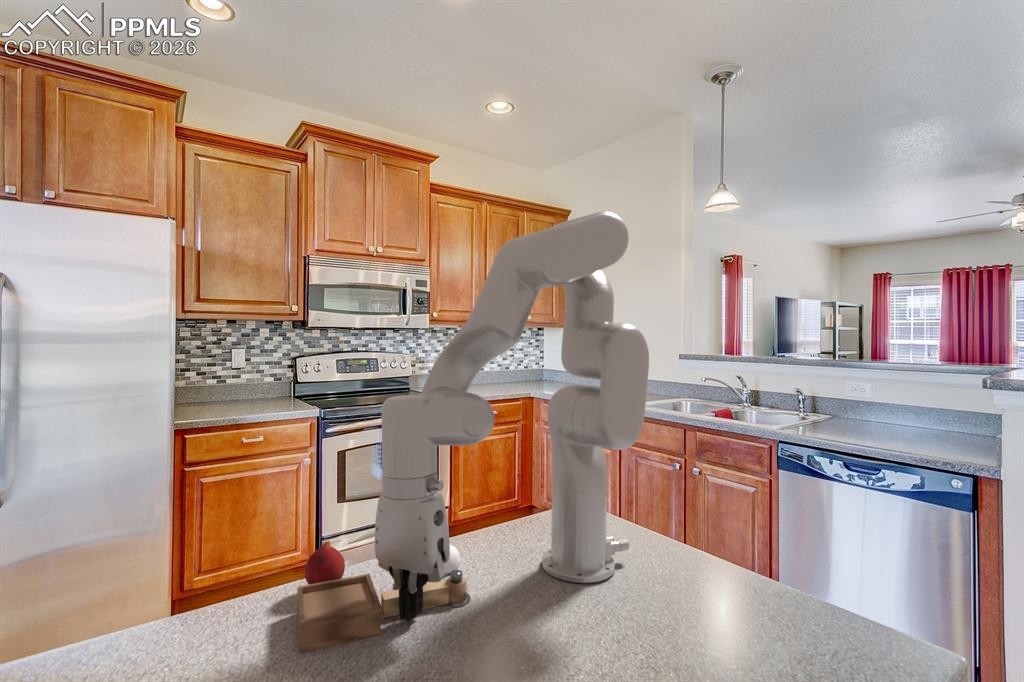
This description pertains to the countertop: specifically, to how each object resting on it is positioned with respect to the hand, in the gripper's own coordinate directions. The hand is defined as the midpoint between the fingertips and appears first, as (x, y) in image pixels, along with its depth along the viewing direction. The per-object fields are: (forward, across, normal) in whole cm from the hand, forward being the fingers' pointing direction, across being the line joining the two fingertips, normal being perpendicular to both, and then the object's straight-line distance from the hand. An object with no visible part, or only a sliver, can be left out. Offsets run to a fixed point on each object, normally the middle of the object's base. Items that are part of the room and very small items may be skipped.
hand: (411, 615), depth 70 cm
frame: (+1, 0, -5) cm, 6 cm away
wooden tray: (+1, +9, +5) cm, 10 cm away
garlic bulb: (+1, +6, -16) cm, 17 cm away
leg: (+1, +1, -4) cm, 4 cm away
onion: (+1, +17, 0) cm, 17 cm away
